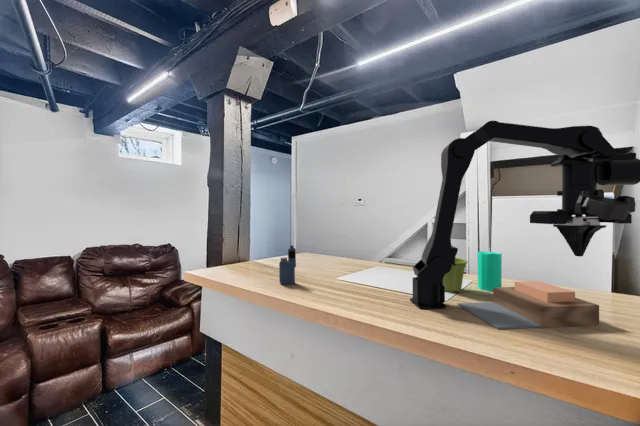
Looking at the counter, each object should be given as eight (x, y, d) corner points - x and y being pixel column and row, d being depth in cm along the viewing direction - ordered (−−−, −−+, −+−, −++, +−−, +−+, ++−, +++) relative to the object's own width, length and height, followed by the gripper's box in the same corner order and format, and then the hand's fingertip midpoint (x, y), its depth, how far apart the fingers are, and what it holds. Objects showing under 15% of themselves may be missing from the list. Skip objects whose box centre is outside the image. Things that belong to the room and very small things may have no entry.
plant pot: (469, 288, 83) (469, 258, 83) (466, 296, 75) (465, 263, 75) (435, 283, 88) (435, 256, 88) (429, 291, 80) (428, 260, 80)
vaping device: (295, 284, 89) (295, 246, 88) (278, 284, 89) (278, 246, 89) (296, 282, 91) (296, 245, 91) (280, 282, 91) (279, 245, 91)
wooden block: (541, 327, 55) (541, 306, 55) (493, 303, 69) (493, 287, 69) (599, 325, 56) (599, 305, 56) (539, 302, 70) (539, 286, 70)
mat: (497, 328, 55) (497, 326, 55) (457, 304, 69) (457, 303, 69) (541, 327, 55) (541, 325, 55) (493, 303, 69) (493, 302, 69)
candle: (505, 292, 79) (505, 249, 79) (481, 290, 80) (481, 248, 80) (496, 286, 85) (496, 246, 85) (474, 285, 86) (474, 245, 86)
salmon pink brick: (547, 302, 58) (547, 292, 58) (514, 290, 67) (514, 281, 67) (575, 301, 58) (575, 291, 58) (538, 289, 67) (538, 280, 67)
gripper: (574, 182, 54) (574, 263, 54) (663, 182, 56) (663, 262, 56) (527, 187, 65) (527, 254, 66) (603, 187, 67) (603, 253, 67)
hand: (578, 256), depth 63 cm, fingers closed
